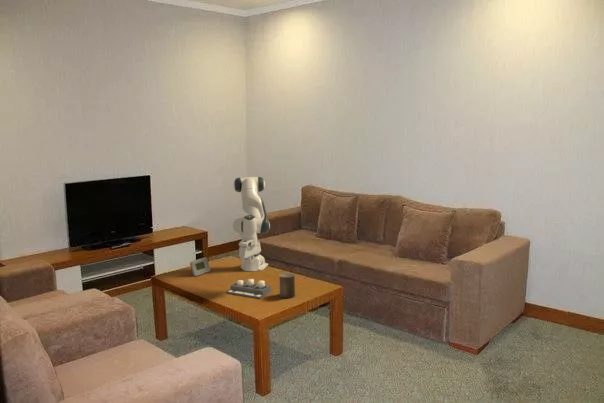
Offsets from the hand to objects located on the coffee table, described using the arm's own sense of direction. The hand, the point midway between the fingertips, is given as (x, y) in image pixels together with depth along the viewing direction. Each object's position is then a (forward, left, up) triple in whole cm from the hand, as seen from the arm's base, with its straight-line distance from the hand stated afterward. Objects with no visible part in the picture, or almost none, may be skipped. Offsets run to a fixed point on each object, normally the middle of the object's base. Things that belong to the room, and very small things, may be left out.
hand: (250, 262), depth 311 cm
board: (+1, -1, -20) cm, 20 cm away
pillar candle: (-4, +24, -20) cm, 32 cm away
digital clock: (-18, -54, -20) cm, 60 cm away
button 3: (-1, +7, -16) cm, 18 cm away
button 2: (-1, -1, -16) cm, 17 cm away
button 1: (-1, -9, -18) cm, 20 cm away
